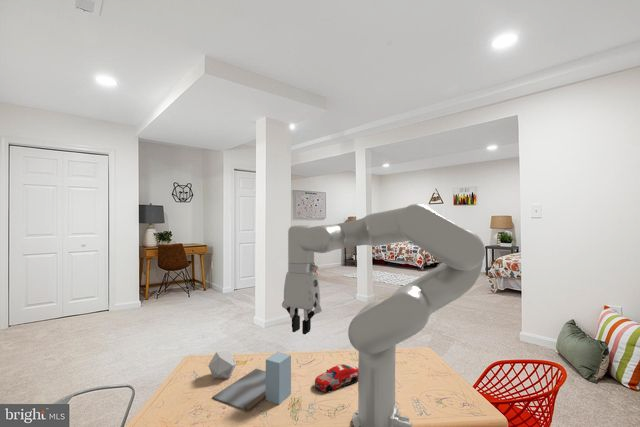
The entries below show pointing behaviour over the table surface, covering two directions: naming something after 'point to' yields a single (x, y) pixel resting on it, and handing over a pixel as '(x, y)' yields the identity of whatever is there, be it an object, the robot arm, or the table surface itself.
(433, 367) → the table surface
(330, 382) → the race car
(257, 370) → the mat
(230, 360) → the die
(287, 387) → the tall block
